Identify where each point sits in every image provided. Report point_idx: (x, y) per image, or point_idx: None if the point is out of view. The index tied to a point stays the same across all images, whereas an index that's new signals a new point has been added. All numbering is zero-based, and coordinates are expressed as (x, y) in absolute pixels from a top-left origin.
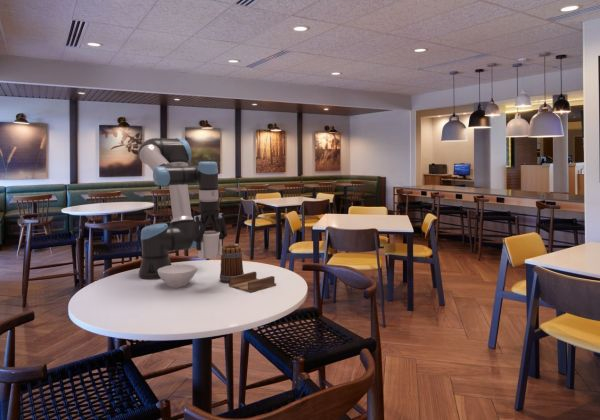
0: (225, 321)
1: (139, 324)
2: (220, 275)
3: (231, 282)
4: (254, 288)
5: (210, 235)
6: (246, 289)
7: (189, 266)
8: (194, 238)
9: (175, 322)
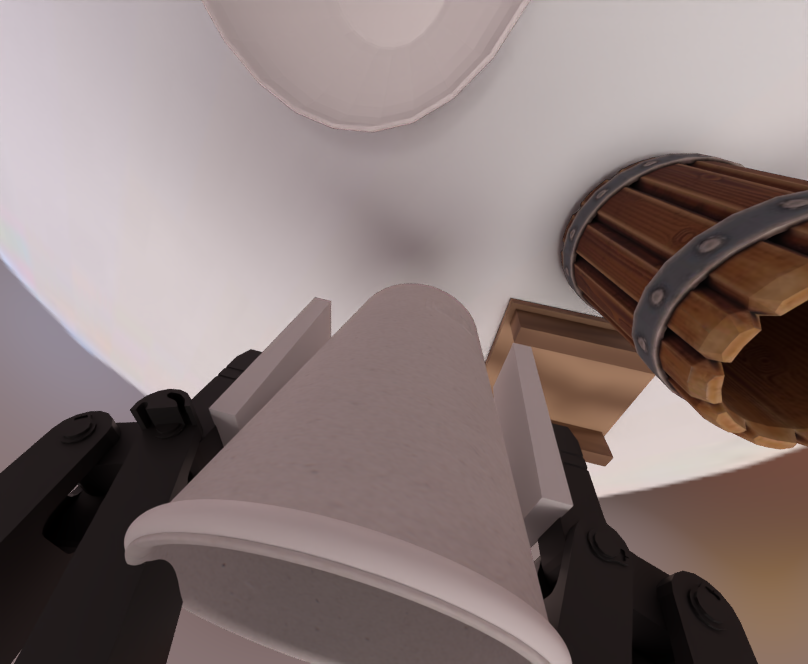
0: None
1: (101, 320)
2: (595, 206)
3: (513, 322)
4: None
5: (267, 624)
6: None
7: None
8: (71, 493)
9: (181, 377)
